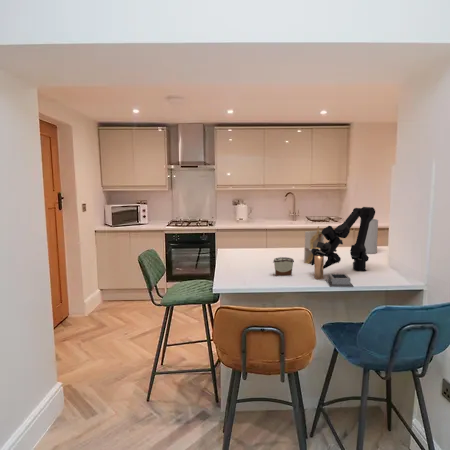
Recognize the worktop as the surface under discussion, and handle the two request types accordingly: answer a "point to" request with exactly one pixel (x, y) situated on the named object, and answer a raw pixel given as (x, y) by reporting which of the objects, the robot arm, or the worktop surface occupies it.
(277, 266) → the food container
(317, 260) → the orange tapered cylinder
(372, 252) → the grey tall block
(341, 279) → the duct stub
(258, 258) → the worktop surface
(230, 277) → the worktop surface
